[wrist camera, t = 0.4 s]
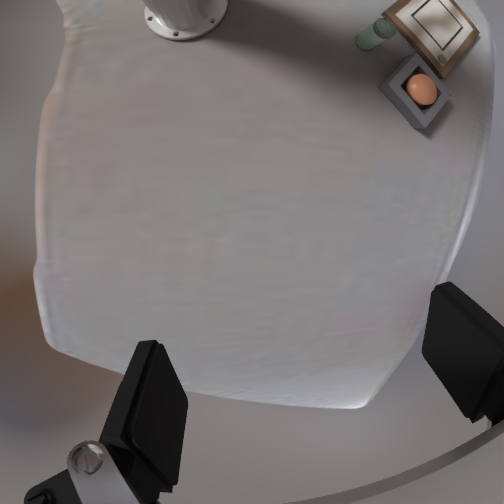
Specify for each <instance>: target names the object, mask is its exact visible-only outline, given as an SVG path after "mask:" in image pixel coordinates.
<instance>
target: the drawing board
mask: <svg viewBox="0 0 504 504" xmlns="http://www.w3.org/2000/svg"><path fill="white" fill-rule="evenodd" d="M381 15H382V16H383V17H384V18H385V19H388V20H389V21H391V22H392V23H393V24H394V26H395V28H396V29H397V30H398V31H399V32H400V33H401V34H402V35H403V36H404V37H405V38H406V40H407V41H408V42H409V43H410V44H411V45H412V46H413V47H414V48H415V49H416V50H417V52H418V53H419V54H420V55H421V56H422V57H423V58H424V60H425V61H426V62H427V63H428V64H429V66H430V67H431V68H432V69H433V70H434V72H435V73H436V74H437V75H438V77H439V78H440V79H443V78H445V76H446V75H447V74H448V73H449V71H450V70H451V69H452V68H453V66H454V65H455V64H456V63H457V61H458V60H459V59H460V58H461V56H462V55H463V54H464V52H465V51H466V50H467V49H468V47H469V46H470V45H471V43H472V42H473V41H474V39H475V38H476V37H477V36H478V34H479V33H480V32H479V31H478V30H477V28H476V27H475V26H474V24H473V23H472V22H471V21H470V19H469V18H468V17H467V16H466V14H465V13H464V12H463V11H462V10H461V8H460V7H459V6H458V5H457V4H456V3H455V2H454V0H398V1H396V2H395V3H394V4H393V5H392V6H391V7H389V8H388V9H387V10H386V11H385V12H384V13H382V14H381Z"/></svg>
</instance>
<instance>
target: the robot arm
mask: <svg viewBox="0 0 504 504" xmlns="http://www.w3.org/2000/svg"><path fill="white" fill-rule="evenodd" d="M143 2H144V3H145V5H146V6H145V11H144V17H145V21H146V23H147V25H148V27H149V28H150V29H151V30H152V31H153V32H154V33H155V34H156V35H158V36H160V37H162V38H165V39H169V40H188V39H193V38H196V37H199V36H201V35H203V34H206V33H207V32H209V31H210V30H212V29H213V28H214V27H216V26H217V25H218V24H219V23H220V21H221V20H222V19H223V17H224V15H225V13H226V10H227V0H143ZM211 22H214V23H211ZM176 35H178V36H176ZM422 354H423V357H424V358H425V360H426V361H427V362H428V364H429V365H430V367H431V368H432V369H433V371H434V372H435V374H436V375H437V376H438V378H439V379H440V381H441V382H442V384H443V385H444V387H445V388H446V389H447V391H448V392H449V394H450V395H451V397H452V398H453V400H454V401H455V403H456V404H457V406H458V407H459V409H460V410H461V412H462V413H463V415H464V416H465V417H466V418H470V420H471V422H472V423H474V422H476V421H478V420H479V419H481V418H483V417H484V415H486V417H487V418H488V420H487V427H486V431H485V432H483V433H482V434H480V435H478V436H477V437H475V438H473V439H472V440H470V441H468V442H466V443H464V444H463V445H461V446H459V447H457V448H455V449H453V450H452V451H449V452H447V453H445V454H443V455H441V456H439V457H437V458H435V459H433V460H430V461H428V462H426V463H424V464H422V465H419V466H417V467H415V468H412V469H410V470H407V471H405V472H402V473H400V474H397V475H394V476H392V477H389V478H386V479H383V480H380V481H377V482H374V483H371V484H368V485H365V486H361V487H358V488H355V489H351V490H347V491H343V492H340V493H335V494H331V495H327V496H322V497H318V498H313V499H308V500H302V501H296V502H290V503H284V504H504V327H503V326H502V325H501V324H500V323H499V322H497V321H496V320H495V319H494V318H493V317H492V316H491V315H490V314H489V313H487V312H486V311H485V310H484V309H482V307H481V306H479V305H478V304H477V303H476V302H475V301H474V300H472V299H471V298H470V297H469V296H468V295H466V294H465V293H464V292H463V291H461V290H460V289H459V288H458V287H457V286H455V285H454V284H453V283H452V282H445V283H442V284H439V285H436V286H435V288H434V290H433V291H432V293H431V298H430V305H429V312H428V318H427V324H426V329H425V335H424V340H423V345H422ZM187 410H188V399H187V396H186V394H185V392H184V390H183V388H182V385H181V383H180V381H179V379H178V377H177V375H176V373H175V370H174V368H173V366H172V364H171V361H170V359H169V357H168V354H167V352H166V350H165V347H164V345H163V344H159V343H158V342H157V341H156V340H148V341H140V342H139V343H138V345H137V347H136V349H135V352H134V354H133V356H132V359H131V361H130V363H129V366H128V368H127V371H126V373H125V376H124V378H123V381H122V382H121V384H120V386H119V388H118V391H117V393H116V396H115V398H114V401H113V404H112V406H111V409H110V412H109V414H108V417H107V419H106V422H105V425H104V428H103V431H102V433H101V436H100V439H99V442H98V441H93V440H89V441H83V442H81V443H79V444H77V445H76V446H74V447H73V448H72V450H71V451H70V453H69V455H68V457H67V469H66V470H64V471H62V472H61V473H58V474H57V475H55V476H53V477H51V478H49V479H48V480H46V481H44V482H42V483H40V484H38V485H36V486H34V487H33V488H31V489H30V490H29V491H28V492H27V494H26V496H25V498H24V504H161V503H160V502H159V500H158V499H159V494H160V492H168V493H172V488H173V485H177V483H178V476H179V469H180V461H181V453H182V445H183V438H184V431H185V424H186V417H187Z"/></svg>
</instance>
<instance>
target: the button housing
mask: <svg viewBox="0 0 504 504" xmlns="http://www.w3.org/2000/svg"><path fill="white" fill-rule="evenodd" d="M417 74H425V75H427V76H428V77H430V78H431V79H432V81H433V82H434V84H435V86H436V89H437V97H436V100H435V101H434V102H433V103H432V104H428V105H417V104H415V103H414V102H413V101H412V99H411V98H410V97H409V96H408V95H407V93H406V89H405V84H406V81H407V79H408V78H409V77H411V76H414V75H417ZM378 88H379V89H380V90H381V91H382V92H383V93H384V94H385V95H386V96H387V98H388V99H389V100H390V101H391V102H392V103H393V104H394V105H395V107H396V108H397V109H398V110H399V111H400V112H401V113H402V115H403V116H404V117H405V118H406V119H407V121H408V122H409V123H410V124H411V126H412V127H413V128H414V129H425V128H426V127H427V126H428V124H429V123H430V122H431V121H432V119H433V118H434V117H435V116H436V114H437V113H438V112H439V111H440V109H441V108H442V107H443V105H444V104H445V103H446V101H447V100H448V99H449V98H450V96H451V95H450V94H449V92H448V91H447V89H446V88H445V87H444V85H443V84H442V83H441V81H440V80H439V79H438V78H437V76H436V75H435V74H434V73H433V71H432V70H431V69H430V68H429V66H428V65H427V64H426V63H425V62H424V60H423V59H422V58H421V57H420V56H419V55H418V54H417V53H415V54H413V55H410V56H408V57H406V58H405V59H404V60H403V61H402V62H401V63H400V64H399V66H398V67H397V68H396V69H395V70H394V71H393V72H392V73H391V74H390V75H389V76H388V77H387V78H386V79H385V81H384V82H383V83H382V84H381V85H380V86H379V87H378Z"/></svg>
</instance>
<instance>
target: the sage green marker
mask: <svg viewBox="0 0 504 504" xmlns="http://www.w3.org/2000/svg"><path fill="white" fill-rule="evenodd" d="M395 33H396V28H395V26H394V24H393V23H392V22H391V21H389V20H388V19H385V18H380V19H378V20H377V21H375V22H374V23H373V24H372V25H371V26H369V27H368V28H367V29H365V30H364V31H363V32H362V33H360V34H359V35H358V36H357V37H356V39H355V42H356V44H357V46H358V47H359V48H360V49H362V50H364V51H369V50H371V49H372V48H374V47H375V46H377V45H379V44H380V43H382V42H384V41H385V40H387V39H389V38H391V37H392V36H394V35H395Z"/></svg>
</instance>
